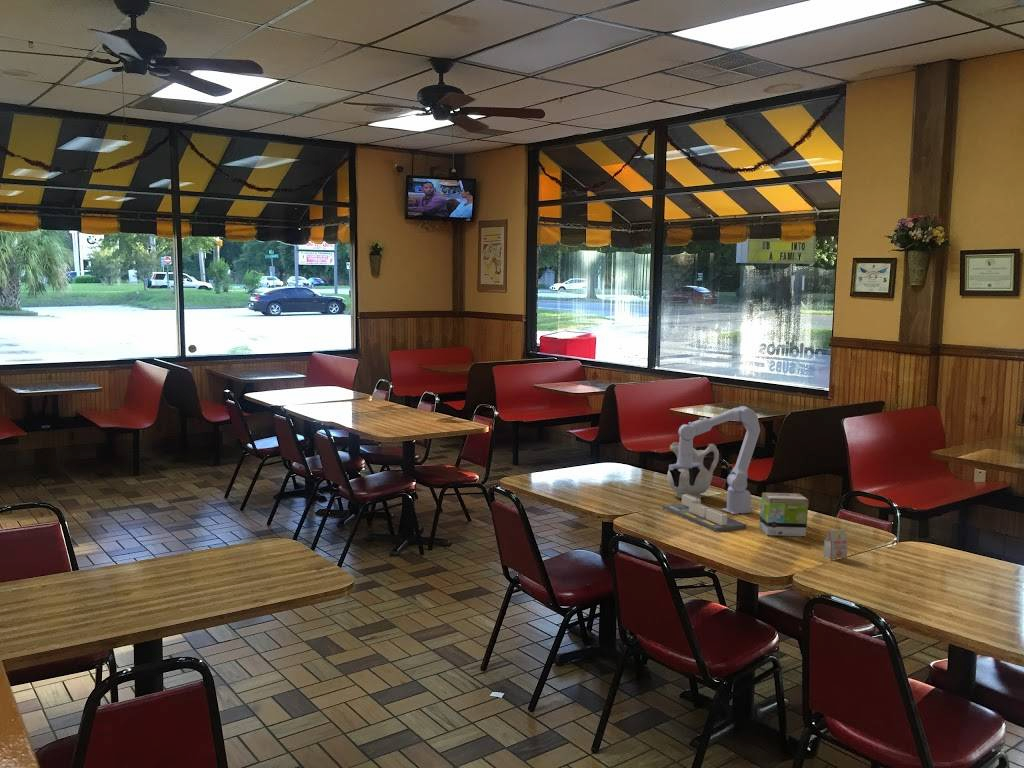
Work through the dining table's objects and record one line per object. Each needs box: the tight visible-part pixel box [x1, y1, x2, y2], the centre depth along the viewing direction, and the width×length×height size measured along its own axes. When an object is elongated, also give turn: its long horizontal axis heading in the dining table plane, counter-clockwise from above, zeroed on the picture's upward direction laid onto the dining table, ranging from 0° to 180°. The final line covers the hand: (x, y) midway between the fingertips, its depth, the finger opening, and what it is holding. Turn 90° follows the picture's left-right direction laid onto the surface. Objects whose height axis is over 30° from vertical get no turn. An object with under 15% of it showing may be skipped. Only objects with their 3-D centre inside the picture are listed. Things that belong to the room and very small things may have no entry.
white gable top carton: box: [822, 528, 849, 559], centre depth 299 cm, size 4×7×10 cm, turn 107°
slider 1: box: [681, 494, 702, 507], centre depth 358 cm, size 2×10×5 cm, turn 24°
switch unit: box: [662, 503, 747, 533], centre depth 347 cm, size 14×36×2 cm, turn 24°
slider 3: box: [706, 507, 728, 525], centre depth 336 cm, size 2×10×5 cm, turn 24°
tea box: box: [758, 492, 809, 537], centre depth 328 cm, size 15×10×15 cm, turn 92°
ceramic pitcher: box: [666, 441, 720, 500], centre depth 382 cm, size 22×20×25 cm
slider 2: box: [689, 501, 710, 518], centre depth 346 cm, size 2×10×5 cm, turn 24°
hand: (683, 485), depth 358 cm, fingers open, 7 cm apart
